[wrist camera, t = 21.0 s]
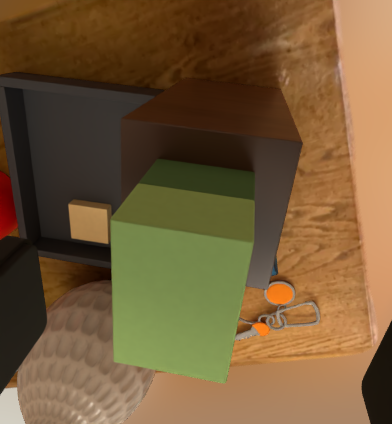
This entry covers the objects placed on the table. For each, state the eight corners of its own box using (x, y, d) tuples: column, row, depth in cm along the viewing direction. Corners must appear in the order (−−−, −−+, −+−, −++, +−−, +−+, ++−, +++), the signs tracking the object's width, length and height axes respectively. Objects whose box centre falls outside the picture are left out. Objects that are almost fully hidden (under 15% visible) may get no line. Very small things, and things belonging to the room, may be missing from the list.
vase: (189, 331, 43) (154, 488, 28) (101, 349, 47) (28, 495, 32) (143, 244, 38) (71, 377, 23) (49, 272, 42) (-64, 401, 27)
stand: (185, 77, 30) (120, 118, 16) (280, 88, 29) (303, 142, 15) (178, 167, 34) (120, 265, 19) (263, 179, 33) (267, 290, 19)
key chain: (309, 274, 36) (311, 279, 36) (323, 327, 39) (324, 333, 38) (193, 294, 40) (192, 299, 39) (213, 342, 43) (213, 347, 42)
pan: (16, 71, 32) (-7, 75, 29) (164, 89, 31) (155, 95, 28) (38, 238, 40) (22, 253, 37) (156, 258, 39) (148, 275, 36)
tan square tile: (73, 198, 36) (68, 204, 35) (111, 204, 36) (107, 209, 35) (76, 232, 38) (71, 238, 37) (112, 238, 38) (108, 244, 37)
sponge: (157, 157, 16) (108, 218, 11) (255, 171, 16) (254, 241, 11) (152, 272, 19) (112, 362, 14) (234, 286, 19) (226, 384, 14)
